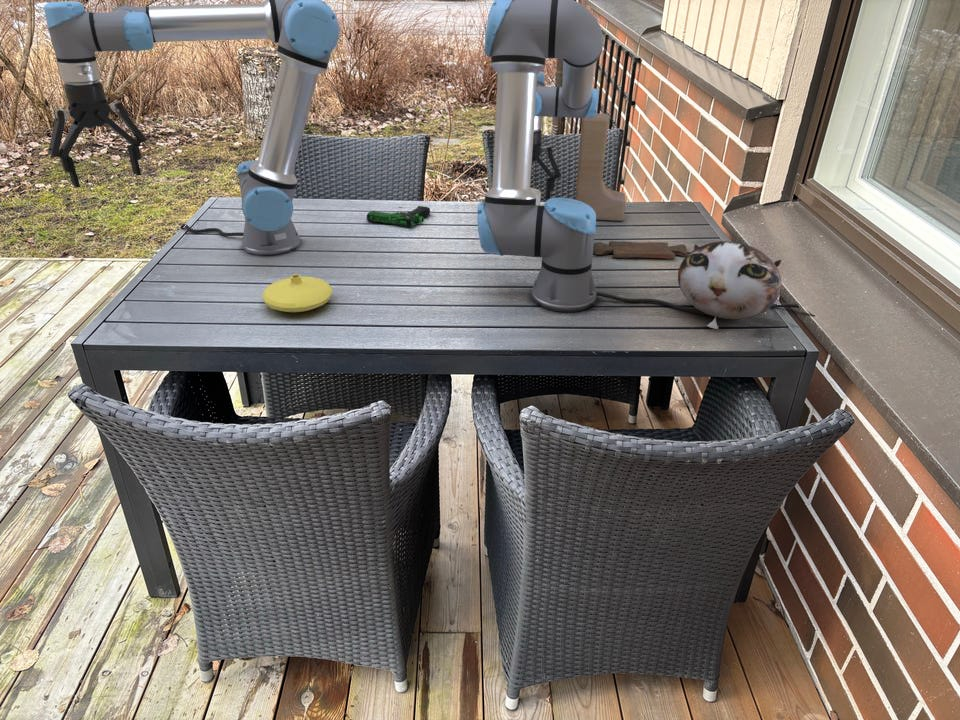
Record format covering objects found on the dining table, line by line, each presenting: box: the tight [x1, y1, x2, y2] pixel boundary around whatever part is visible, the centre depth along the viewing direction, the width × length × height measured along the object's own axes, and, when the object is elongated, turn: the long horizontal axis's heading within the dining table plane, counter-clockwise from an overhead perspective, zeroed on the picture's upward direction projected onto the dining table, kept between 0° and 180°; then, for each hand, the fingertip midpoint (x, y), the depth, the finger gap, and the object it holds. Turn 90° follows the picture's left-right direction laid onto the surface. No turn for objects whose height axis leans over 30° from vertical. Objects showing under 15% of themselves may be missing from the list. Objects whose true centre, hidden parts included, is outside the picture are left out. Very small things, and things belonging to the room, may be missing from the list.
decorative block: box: [574, 112, 626, 222], centre depth 213 cm, size 8×15×30 cm, turn 82°
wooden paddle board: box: [593, 240, 688, 259], centre depth 196 cm, size 26×2×10 cm
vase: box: [261, 273, 333, 313], centre depth 164 cm, size 16×16×7 cm
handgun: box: [366, 205, 431, 229], centre depth 216 cm, size 16×3×15 cm
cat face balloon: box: [677, 240, 783, 330], centre depth 159 cm, size 22×18×20 cm
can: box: [530, 187, 542, 206], centre depth 215 cm, size 9×9×9 cm
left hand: (107, 180), depth 164 cm, fingers open, 13 cm apart
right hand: (525, 201), depth 215 cm, fingers open, 13 cm apart
